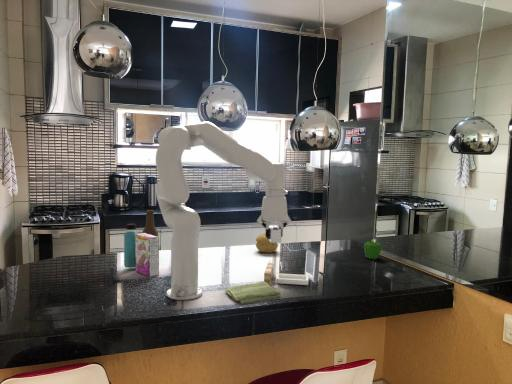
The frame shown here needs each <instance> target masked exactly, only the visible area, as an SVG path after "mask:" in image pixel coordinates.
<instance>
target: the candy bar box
mask: <svg viewBox="0 0 512 384" xmlns="http://www.w3.org/2000/svg"><path fill="white" fill-rule="evenodd" d="M135 252H136V255H135V256H136V267H135V272H136V273H137V274H138V273H139V274H140V275H143V276H147V277H148V278H153V277H156V276H159V275H160V236H158V237H157V236H153V235H150V234H147V233H142V232H141V233H139V234H135Z"/></svg>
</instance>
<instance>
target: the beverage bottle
mask: <svg viewBox="0 0 512 384" xmlns="http://www.w3.org/2000/svg"><path fill="white" fill-rule="evenodd" d="M125 228H126V230H129V231H126V232H125V233H124V234H123V245H124V247H123V265H124V267H125V268H128V269H129V268H131V269H132V268H136V256H135V255H136V252H135V234H140V233H139V232H138V231H136V230H137V224H136V223H127V224H126V227H125Z"/></svg>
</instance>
